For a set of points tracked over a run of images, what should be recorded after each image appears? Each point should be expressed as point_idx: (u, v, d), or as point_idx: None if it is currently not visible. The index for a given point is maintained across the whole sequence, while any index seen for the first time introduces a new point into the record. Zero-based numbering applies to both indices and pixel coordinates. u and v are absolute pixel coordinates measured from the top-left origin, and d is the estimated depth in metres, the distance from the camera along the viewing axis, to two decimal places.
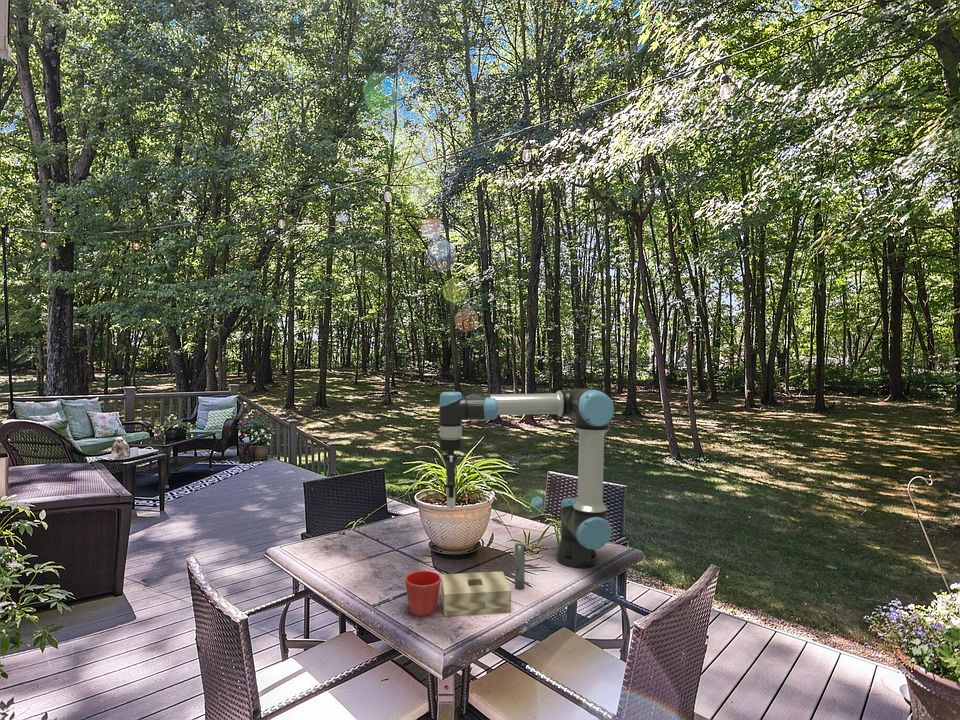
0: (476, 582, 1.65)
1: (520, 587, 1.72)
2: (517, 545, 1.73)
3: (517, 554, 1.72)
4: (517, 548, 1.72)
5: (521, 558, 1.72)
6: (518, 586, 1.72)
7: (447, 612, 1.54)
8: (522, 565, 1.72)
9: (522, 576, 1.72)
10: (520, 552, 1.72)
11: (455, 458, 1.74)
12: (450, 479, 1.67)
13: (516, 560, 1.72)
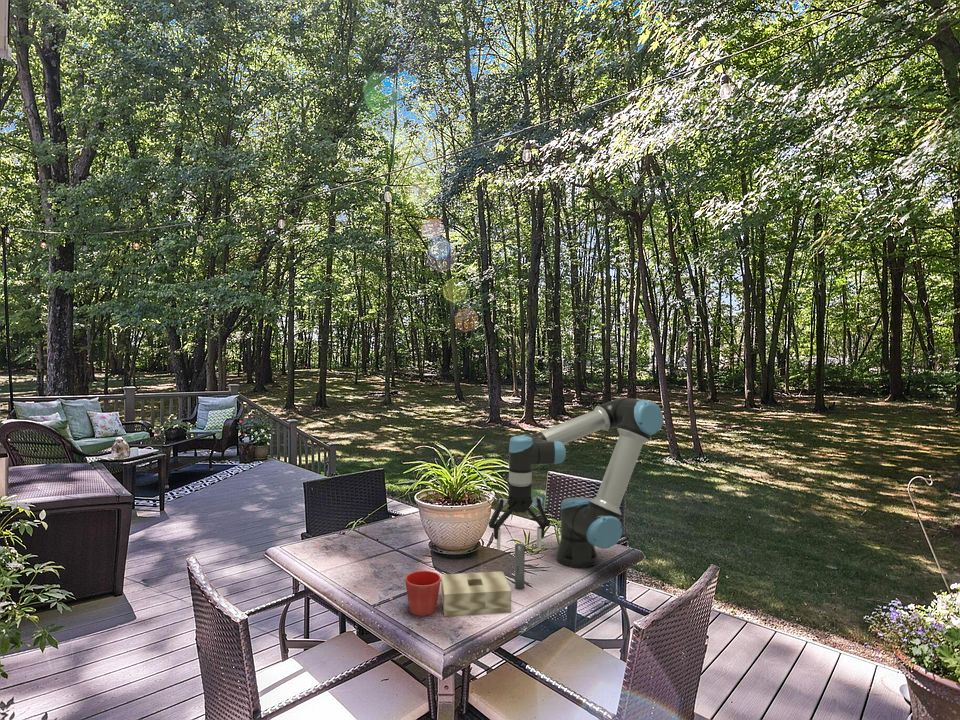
0: (476, 582, 1.65)
1: (520, 587, 1.72)
2: (517, 545, 1.73)
3: (517, 554, 1.72)
4: (517, 548, 1.72)
5: (521, 558, 1.72)
6: (518, 586, 1.72)
7: (447, 612, 1.54)
8: (522, 565, 1.72)
9: (522, 576, 1.72)
10: (520, 552, 1.72)
11: (514, 504, 1.71)
12: (491, 519, 1.72)
13: (516, 560, 1.72)
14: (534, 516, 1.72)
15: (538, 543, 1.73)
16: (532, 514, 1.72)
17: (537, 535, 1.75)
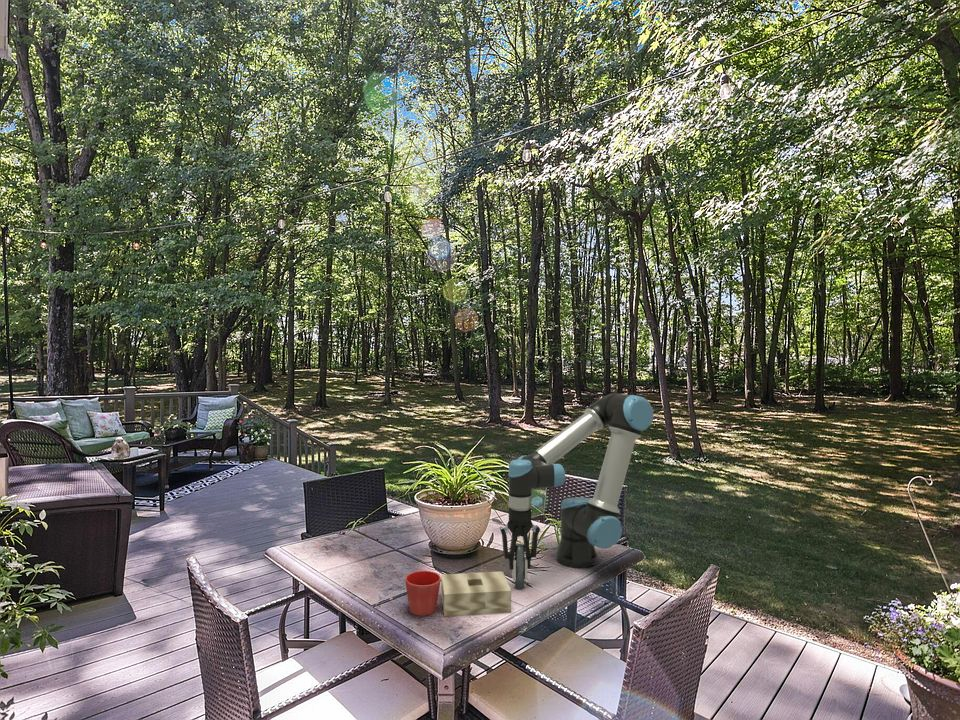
0: (476, 582, 1.65)
1: (520, 587, 1.72)
2: (517, 545, 1.73)
3: (517, 554, 1.72)
4: (517, 548, 1.72)
5: (521, 558, 1.72)
6: (518, 586, 1.72)
7: (447, 612, 1.54)
8: (522, 565, 1.72)
9: (522, 576, 1.72)
10: (520, 552, 1.72)
11: (515, 530, 1.71)
12: (503, 550, 1.73)
13: (516, 560, 1.72)
14: (527, 544, 1.72)
15: (524, 574, 1.73)
16: (526, 541, 1.72)
17: None
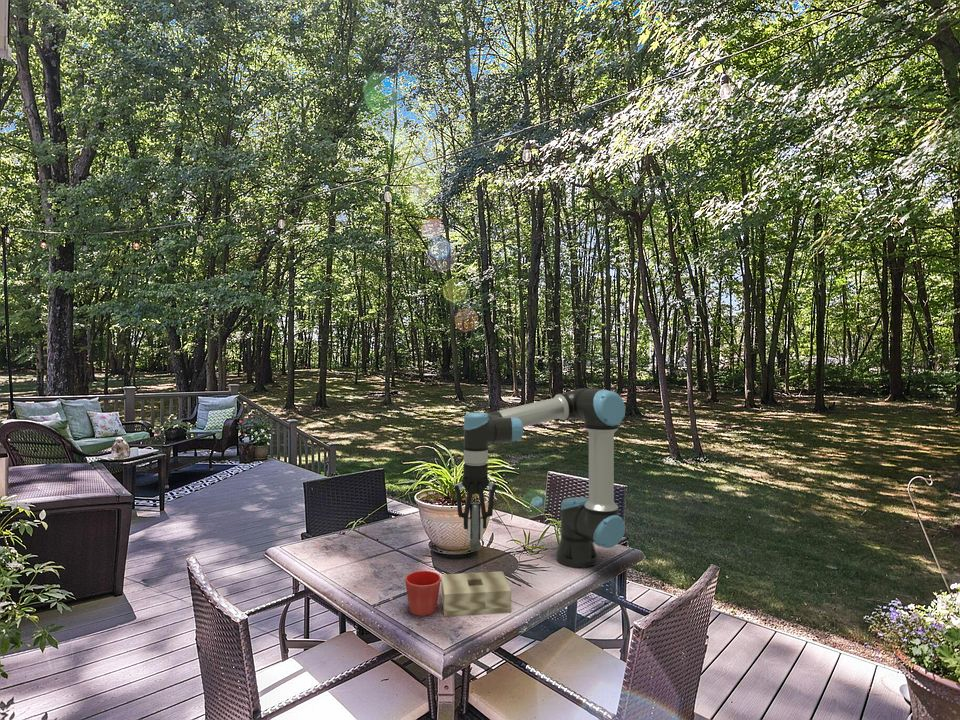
0: (476, 582, 1.65)
1: (475, 548, 1.61)
2: (472, 503, 1.62)
3: (472, 513, 1.61)
4: (472, 506, 1.61)
5: (476, 517, 1.60)
6: (473, 547, 1.61)
7: (447, 612, 1.54)
8: (477, 525, 1.61)
9: (477, 536, 1.61)
10: (475, 511, 1.60)
11: (469, 486, 1.60)
12: None
13: (471, 519, 1.61)
14: (482, 502, 1.61)
15: (480, 534, 1.61)
16: (481, 499, 1.61)
17: None
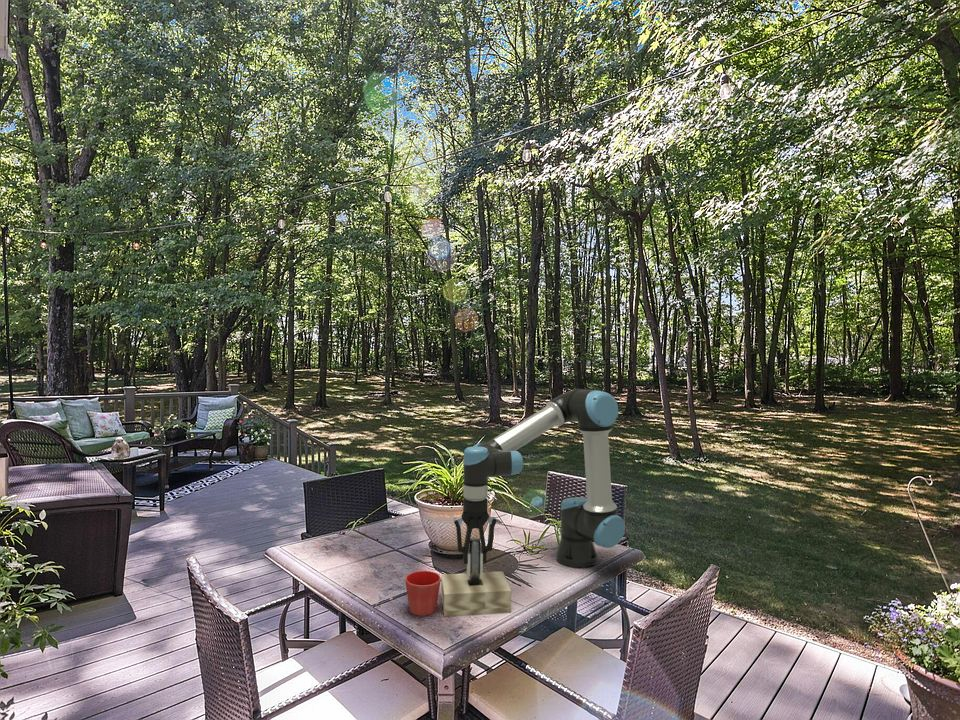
0: None
1: None
2: (472, 540, 1.62)
3: (471, 549, 1.61)
4: (472, 543, 1.61)
5: (476, 554, 1.61)
6: (473, 583, 1.61)
7: (447, 612, 1.54)
8: (477, 561, 1.61)
9: (477, 573, 1.61)
10: (475, 547, 1.60)
11: (469, 521, 1.60)
12: (457, 543, 1.62)
13: (471, 556, 1.61)
14: (482, 536, 1.61)
15: (480, 569, 1.61)
16: (481, 533, 1.61)
17: None
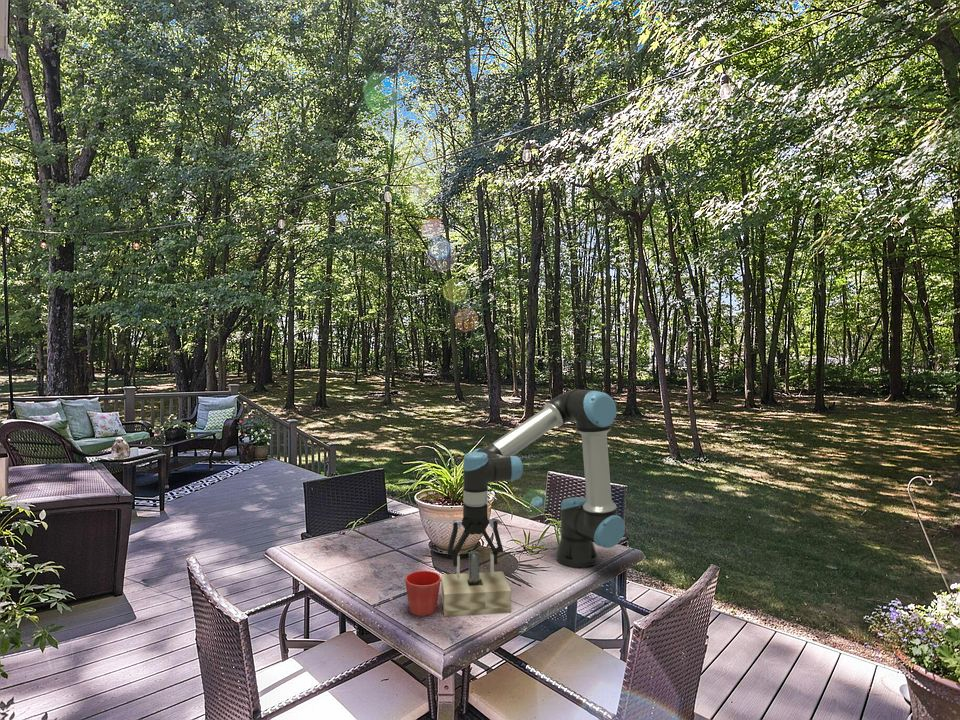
0: None
1: None
2: (471, 553, 1.62)
3: (471, 562, 1.61)
4: (471, 556, 1.61)
5: (475, 567, 1.61)
6: None
7: (447, 612, 1.54)
8: (476, 574, 1.61)
9: None
10: (474, 560, 1.61)
11: (469, 526, 1.60)
12: (448, 545, 1.61)
13: (470, 569, 1.61)
14: (488, 540, 1.61)
15: (491, 570, 1.62)
16: (486, 537, 1.61)
17: (490, 561, 1.64)
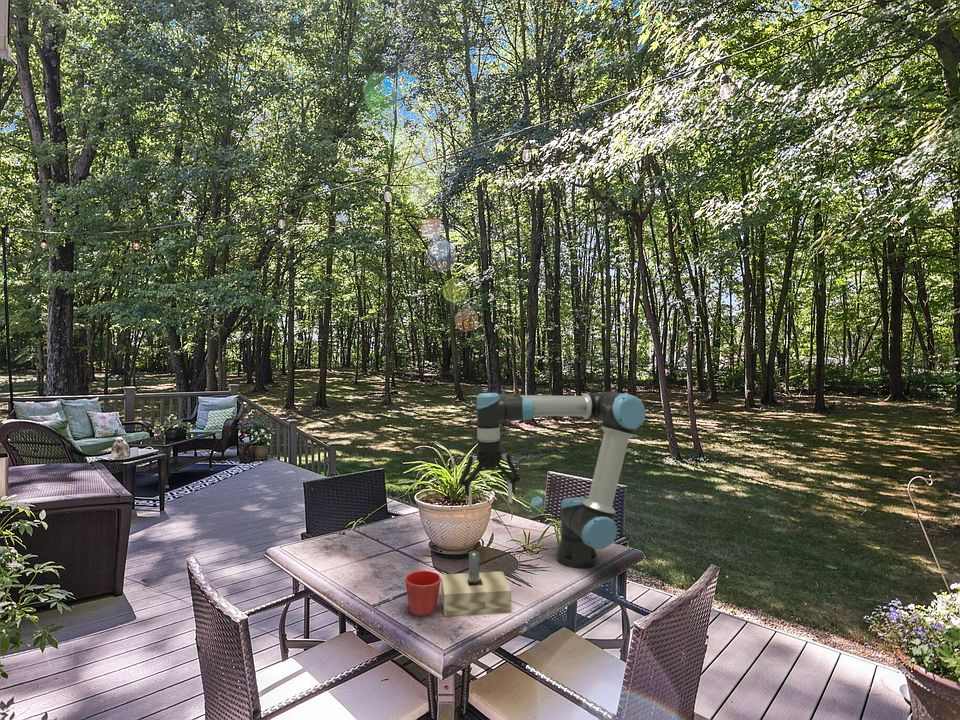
0: None
1: None
2: (471, 553, 1.62)
3: (471, 562, 1.61)
4: (471, 556, 1.61)
5: (475, 567, 1.61)
6: None
7: (447, 612, 1.54)
8: (476, 574, 1.61)
9: None
10: (474, 560, 1.61)
11: (483, 460, 1.72)
12: (461, 476, 1.73)
13: (470, 569, 1.61)
14: (504, 471, 1.74)
15: (509, 498, 1.74)
16: (502, 469, 1.73)
17: (508, 490, 1.76)
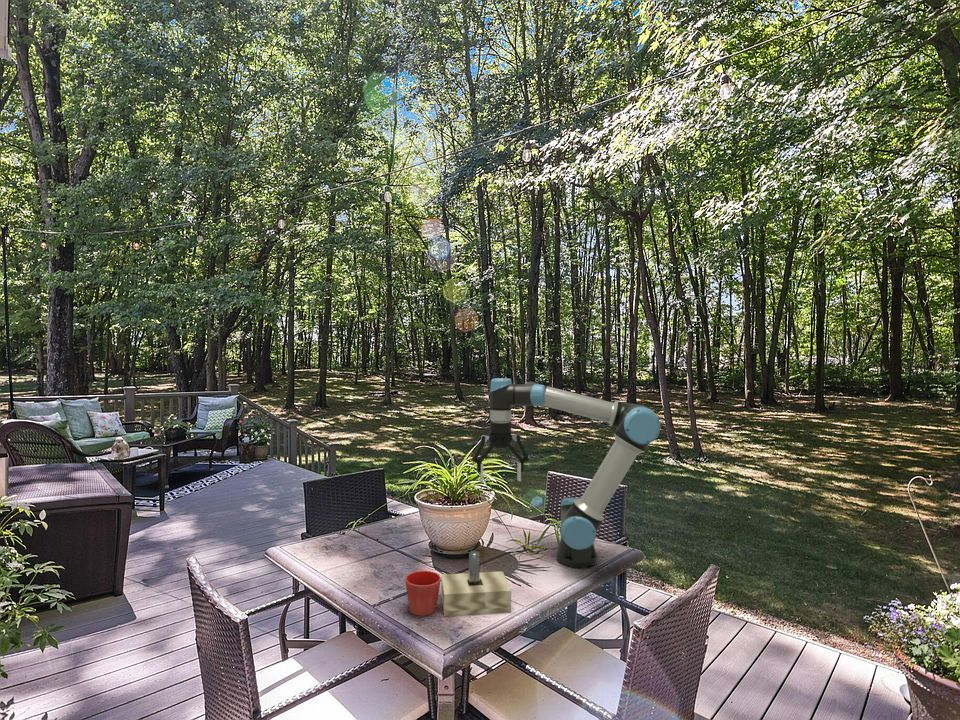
0: None
1: None
2: (471, 553, 1.62)
3: (471, 562, 1.61)
4: (471, 556, 1.61)
5: (475, 567, 1.61)
6: None
7: (447, 612, 1.54)
8: (477, 574, 1.61)
9: None
10: (474, 560, 1.61)
11: (495, 440, 1.85)
12: (474, 454, 1.86)
13: (470, 569, 1.61)
14: (514, 451, 1.87)
15: (518, 476, 1.87)
16: (512, 449, 1.87)
17: (517, 469, 1.89)
